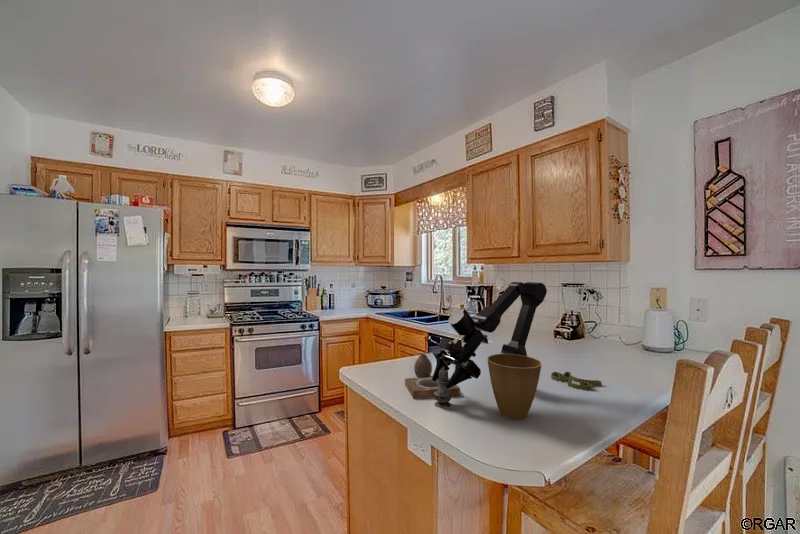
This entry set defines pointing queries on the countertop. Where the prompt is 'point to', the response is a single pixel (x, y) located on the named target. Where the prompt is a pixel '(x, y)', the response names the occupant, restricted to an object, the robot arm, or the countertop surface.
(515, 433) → the countertop surface
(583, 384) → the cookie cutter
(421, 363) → the vase
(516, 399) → the plant pot
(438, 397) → the grey chess piece
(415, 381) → the bore block
